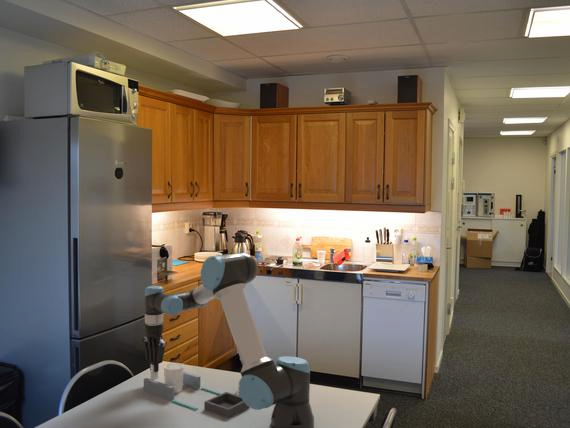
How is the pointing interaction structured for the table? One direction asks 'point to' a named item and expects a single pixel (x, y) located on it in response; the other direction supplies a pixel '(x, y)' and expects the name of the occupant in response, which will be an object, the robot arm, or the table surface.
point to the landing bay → (193, 406)
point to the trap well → (225, 404)
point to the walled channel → (167, 390)
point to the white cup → (174, 376)
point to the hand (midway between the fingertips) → (154, 378)
